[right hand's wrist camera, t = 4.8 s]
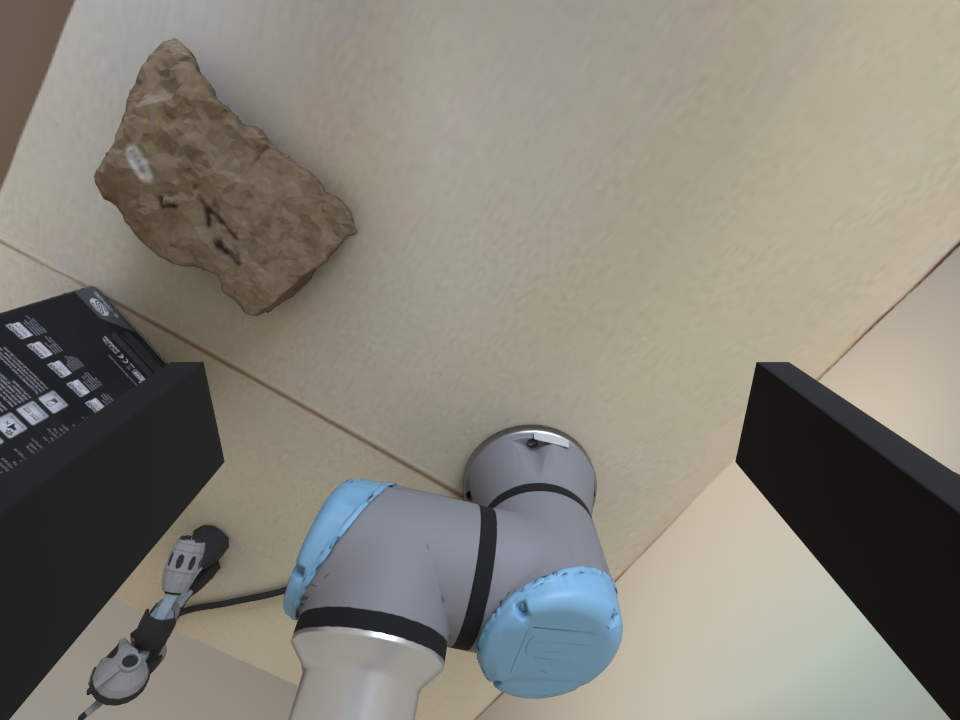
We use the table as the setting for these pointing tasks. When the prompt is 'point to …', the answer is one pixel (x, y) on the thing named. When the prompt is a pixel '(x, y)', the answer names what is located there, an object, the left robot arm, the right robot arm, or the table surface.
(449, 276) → the table surface
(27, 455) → the graphics card box
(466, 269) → the table surface
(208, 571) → the robot
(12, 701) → the right robot arm
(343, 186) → the table surface
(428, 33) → the table surface
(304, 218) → the stone
